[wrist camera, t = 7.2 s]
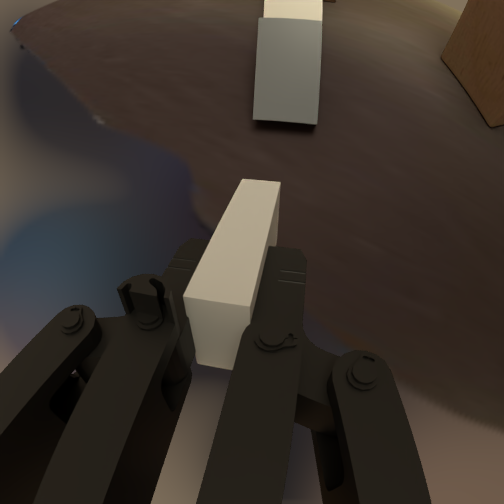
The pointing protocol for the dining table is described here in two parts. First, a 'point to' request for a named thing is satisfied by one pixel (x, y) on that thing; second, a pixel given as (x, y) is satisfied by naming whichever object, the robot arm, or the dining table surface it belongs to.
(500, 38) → the wooden block
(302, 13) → the domino
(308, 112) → the domino
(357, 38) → the dining table surface
